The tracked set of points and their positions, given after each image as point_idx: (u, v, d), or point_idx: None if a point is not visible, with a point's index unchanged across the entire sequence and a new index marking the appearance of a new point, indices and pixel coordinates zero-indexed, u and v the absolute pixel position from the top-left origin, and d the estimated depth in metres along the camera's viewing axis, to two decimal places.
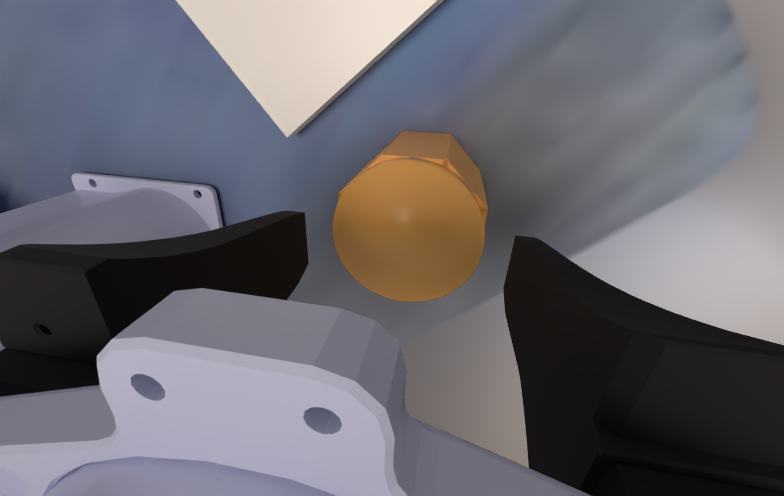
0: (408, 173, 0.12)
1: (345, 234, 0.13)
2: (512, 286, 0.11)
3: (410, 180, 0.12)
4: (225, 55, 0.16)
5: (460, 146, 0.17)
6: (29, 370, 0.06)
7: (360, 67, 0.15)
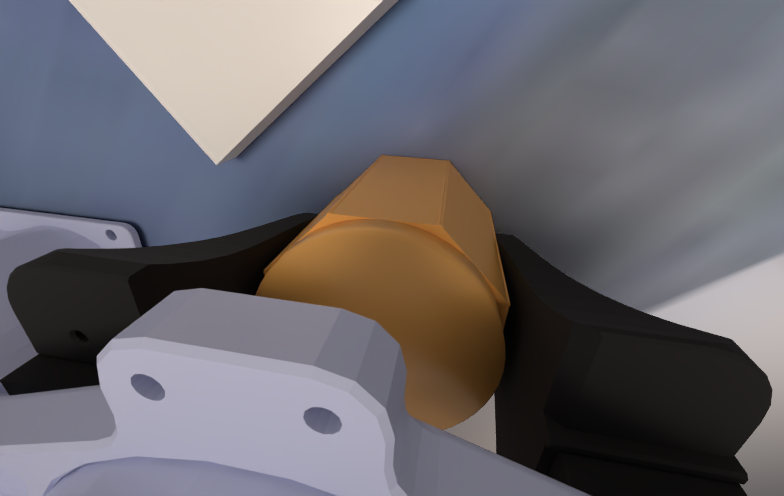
0: (370, 253, 0.07)
1: None
2: None
3: (374, 264, 0.07)
4: (117, 47, 0.11)
5: (462, 178, 0.12)
6: (65, 377, 0.06)
7: (312, 65, 0.10)
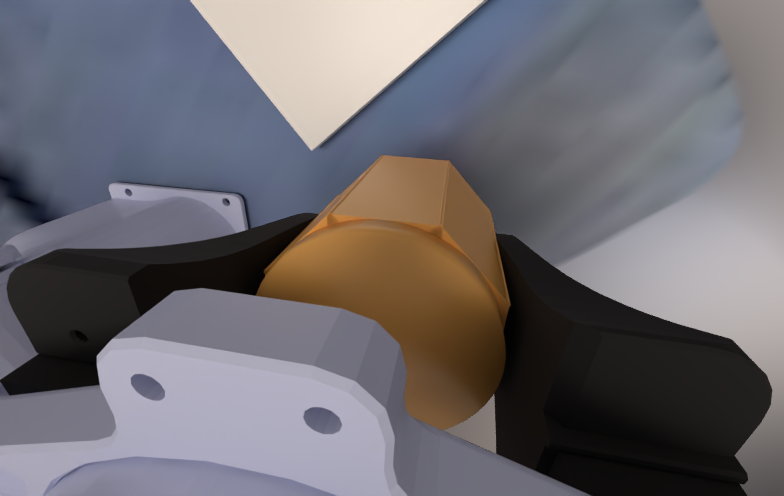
0: (371, 253, 0.07)
1: None
2: None
3: (375, 265, 0.07)
4: (256, 77, 0.18)
5: (463, 178, 0.12)
6: (65, 377, 0.06)
7: (380, 88, 0.17)
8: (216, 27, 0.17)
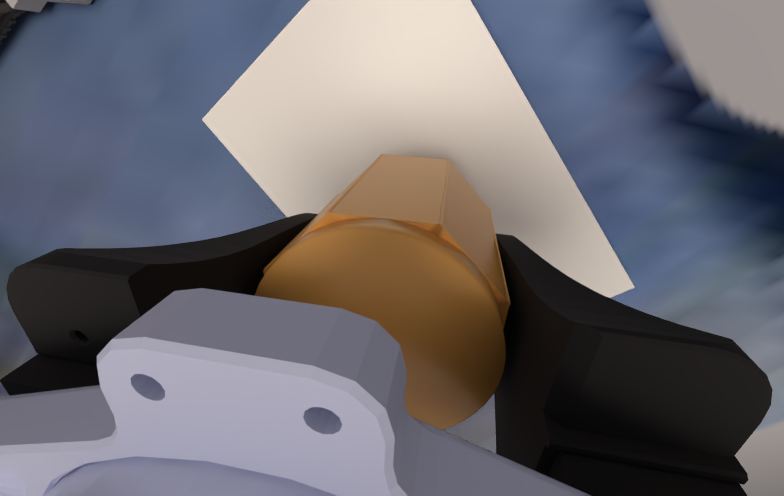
0: (370, 252, 0.07)
1: None
2: None
3: (374, 263, 0.07)
4: None
5: (462, 177, 0.12)
6: (65, 377, 0.06)
7: None
8: None
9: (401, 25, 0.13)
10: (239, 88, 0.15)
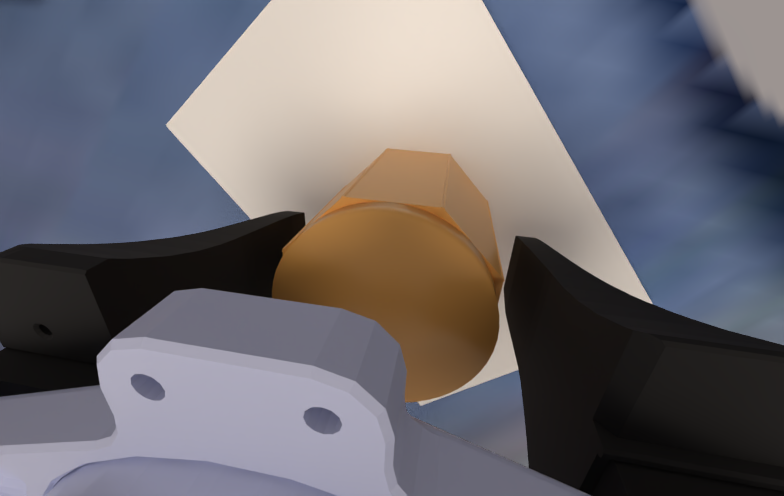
0: (381, 230, 0.07)
1: None
2: (512, 286, 0.11)
3: (384, 241, 0.07)
4: None
5: (462, 170, 0.13)
6: (29, 370, 0.06)
7: (502, 374, 0.17)
8: None
9: (391, 15, 0.11)
10: (206, 89, 0.13)
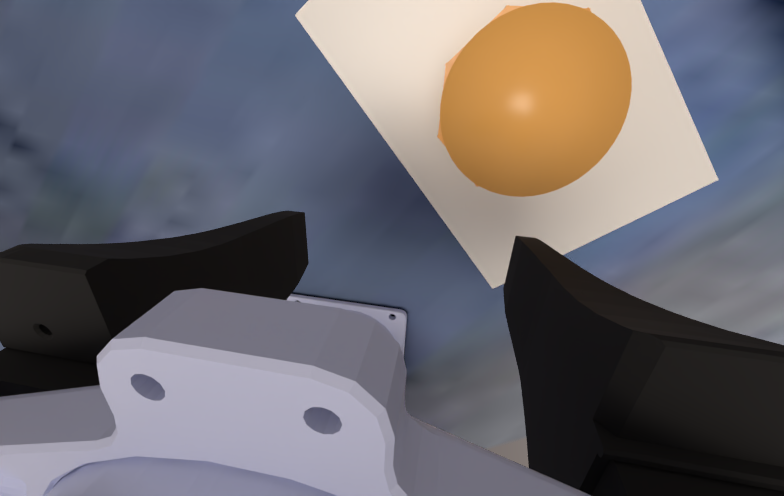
0: (548, 18, 0.10)
1: (455, 108, 0.11)
2: (512, 286, 0.11)
3: (549, 28, 0.10)
4: (455, 232, 0.20)
5: None
6: (29, 370, 0.06)
7: (571, 249, 0.19)
8: (428, 194, 0.19)
9: None
10: None
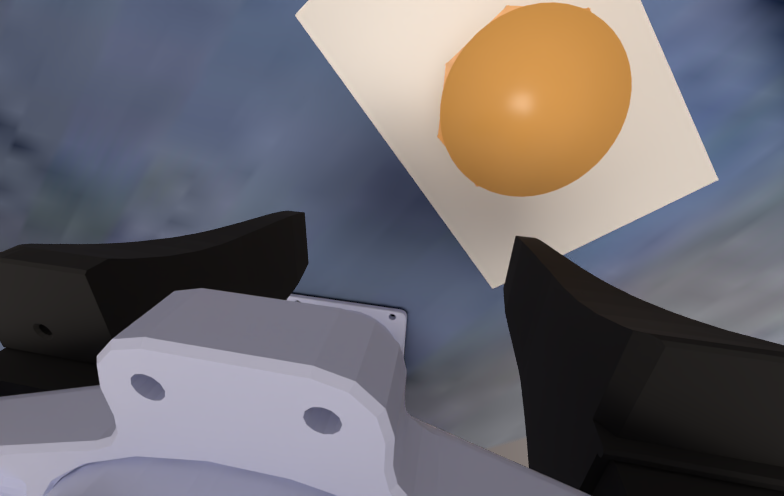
0: (548, 18, 0.10)
1: (455, 108, 0.11)
2: (512, 286, 0.11)
3: (549, 28, 0.10)
4: (455, 232, 0.20)
5: None
6: (29, 370, 0.06)
7: (571, 249, 0.19)
8: (428, 194, 0.19)
9: None
10: None
